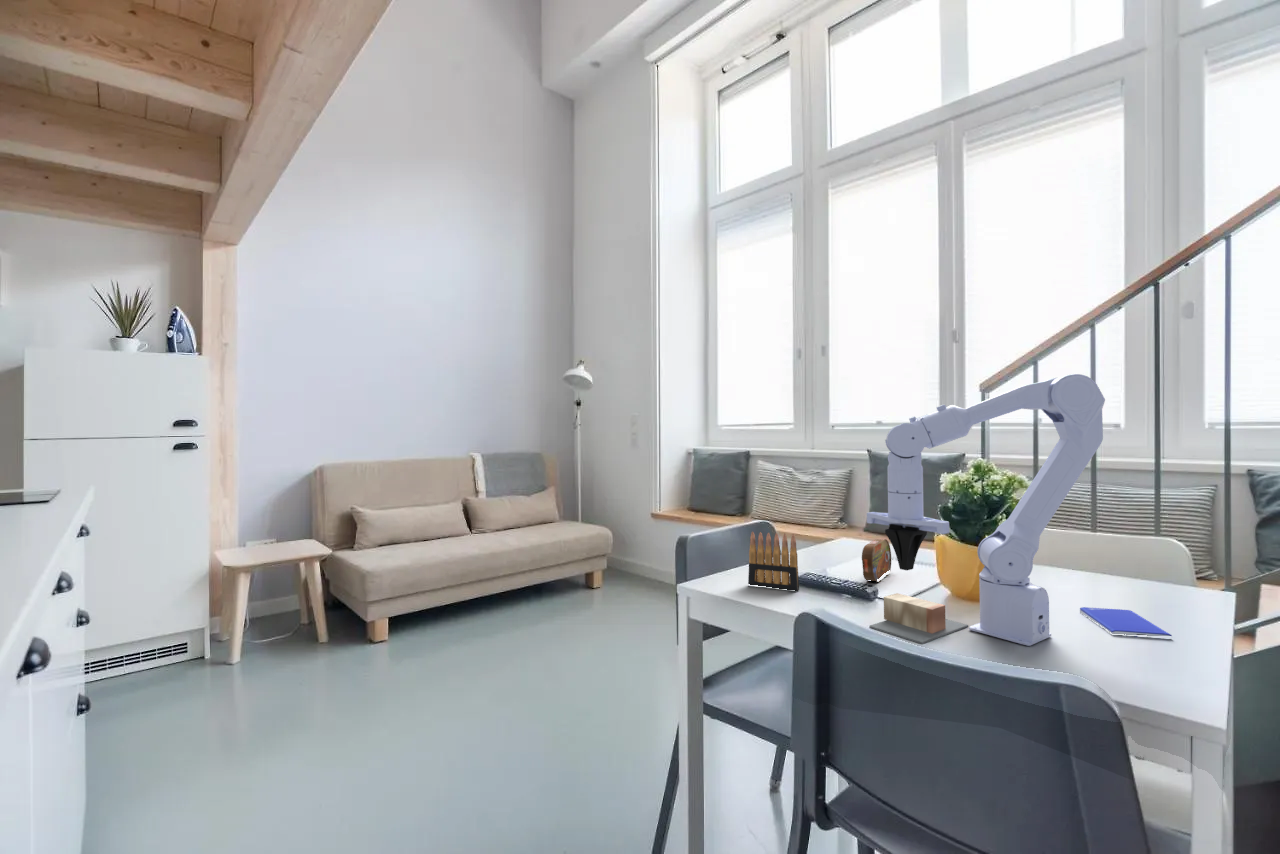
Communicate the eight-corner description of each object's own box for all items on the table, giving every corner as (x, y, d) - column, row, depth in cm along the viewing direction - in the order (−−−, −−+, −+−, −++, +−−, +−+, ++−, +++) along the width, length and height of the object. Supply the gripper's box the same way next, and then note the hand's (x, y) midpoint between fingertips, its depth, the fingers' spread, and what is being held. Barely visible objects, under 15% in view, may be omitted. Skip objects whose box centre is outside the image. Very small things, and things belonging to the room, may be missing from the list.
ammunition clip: (748, 586, 130) (747, 531, 130) (750, 584, 132) (749, 530, 132) (797, 591, 125) (796, 535, 125) (799, 589, 127) (798, 533, 127)
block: (897, 615, 108) (945, 628, 101) (883, 619, 106) (932, 633, 99) (897, 593, 108) (945, 605, 101) (883, 596, 106) (932, 609, 99)
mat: (968, 626, 103) (968, 624, 103) (921, 643, 95) (921, 642, 95) (916, 612, 111) (916, 610, 111) (869, 627, 103) (869, 625, 103)
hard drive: (1079, 606, 110) (1111, 629, 98) (1132, 609, 107) (1172, 633, 95) (1079, 615, 110) (1112, 639, 98) (1132, 618, 107) (1172, 643, 95)
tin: (874, 586, 129) (874, 547, 129) (859, 584, 131) (859, 546, 131) (892, 572, 141) (892, 536, 141) (879, 570, 143) (878, 535, 143)
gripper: (855, 490, 108) (856, 564, 108) (932, 497, 96) (933, 581, 96) (879, 487, 112) (880, 559, 112) (955, 494, 100) (956, 574, 100)
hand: (906, 569), depth 105 cm, fingers closed
